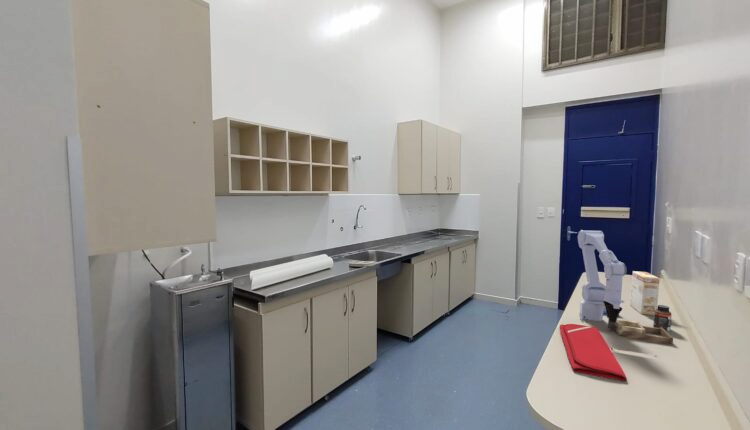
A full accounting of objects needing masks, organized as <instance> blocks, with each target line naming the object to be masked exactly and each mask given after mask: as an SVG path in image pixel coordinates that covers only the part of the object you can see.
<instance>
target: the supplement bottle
mask: <svg viewBox="0 0 750 430" xmlns="http://www.w3.org/2000/svg"><path fill="white" fill-rule="evenodd" d="M672 315H673V314H672V311H670V306H668V305H663V304H657V309H656V310H655V311H654V315H653V325H652V327H655V328H660V327H662V328H664V329H665V330H666V331H667V332H669V331H671V326H672Z"/></svg>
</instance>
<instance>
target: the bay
mask: <svg viewBox="0 0 750 430" xmlns="http://www.w3.org/2000/svg"><path fill="white" fill-rule="evenodd" d="M642 326H643V328H644V329H645V334H641V333H635V332H628V331H623V336H622V337H623V338H628V339H633V340H640V341H647V342H651V343H653V342H654V343H657V344H658V343H659V344H665V345H672V346H673V345H674V337H673V336H672V335H671V334H670V333H669V331H666V330H665V329H664V328H662V327H660V328H655V327H653V326H647V325H642ZM647 333H649V334H647ZM654 334H655V335H654Z"/></svg>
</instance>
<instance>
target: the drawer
mask: <svg viewBox="0 0 750 430" xmlns="http://www.w3.org/2000/svg"><path fill="white" fill-rule="evenodd" d="M607 319H608V323H607V328H608V329H610V330H615V331H616V333H617V334H618V335H619V336H622V337H623V331H628V332H635V333H641V334H646V332H645V329H644V328H643V326H644V325H642V324H641V323H640V322H639V321H632V320H625V319H618V318H617V320H616V322H610V320H609V318H607Z"/></svg>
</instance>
